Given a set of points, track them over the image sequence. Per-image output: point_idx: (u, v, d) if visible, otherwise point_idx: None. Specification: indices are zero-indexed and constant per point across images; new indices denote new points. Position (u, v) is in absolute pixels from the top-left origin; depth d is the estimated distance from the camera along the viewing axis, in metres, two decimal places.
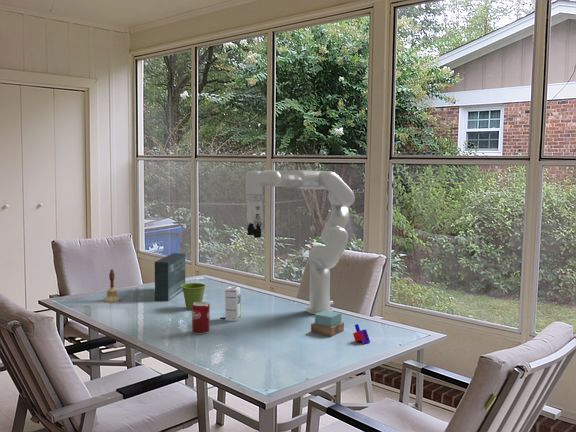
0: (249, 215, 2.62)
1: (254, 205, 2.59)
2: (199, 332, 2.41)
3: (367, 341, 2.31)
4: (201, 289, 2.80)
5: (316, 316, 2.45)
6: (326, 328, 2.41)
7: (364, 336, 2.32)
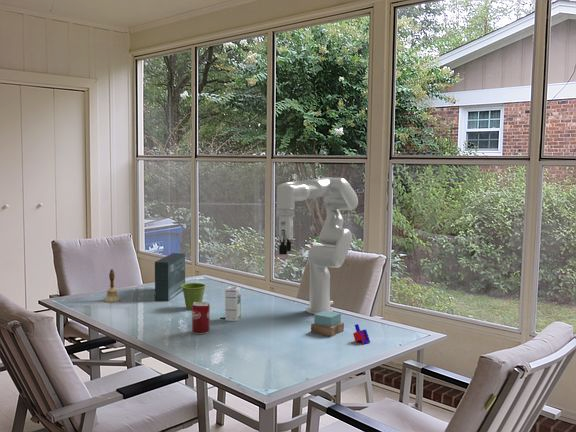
0: None
1: (280, 220, 2.49)
2: (199, 332, 2.41)
3: (367, 341, 2.31)
4: (201, 289, 2.80)
5: (316, 316, 2.45)
6: (326, 328, 2.41)
7: (364, 336, 2.32)
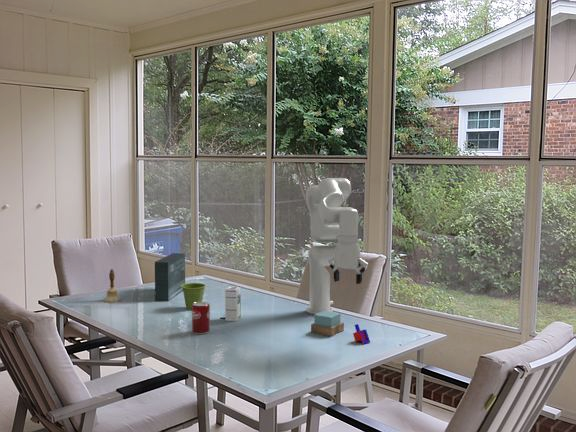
0: None
1: None
2: (199, 332, 2.41)
3: (367, 341, 2.31)
4: (201, 289, 2.80)
5: (316, 316, 2.44)
6: (326, 328, 2.41)
7: (364, 336, 2.32)
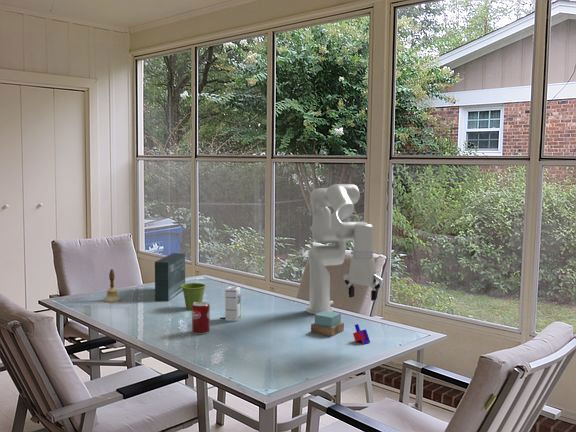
0: None
1: None
2: (199, 332, 2.41)
3: (367, 341, 2.31)
4: (201, 289, 2.80)
5: (316, 316, 2.45)
6: (326, 328, 2.41)
7: (364, 336, 2.32)
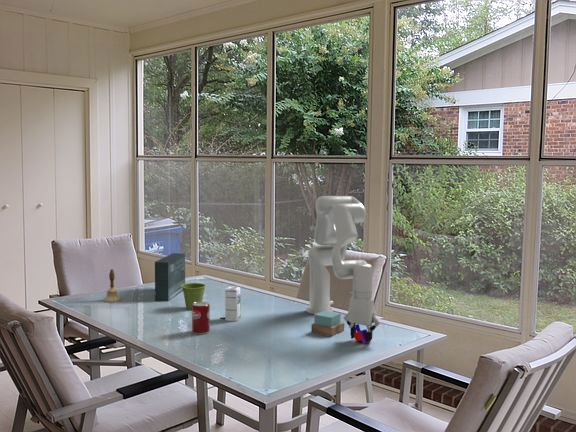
0: None
1: None
2: (199, 332, 2.41)
3: None
4: (201, 289, 2.80)
5: (316, 316, 2.45)
6: (326, 328, 2.41)
7: (364, 336, 2.32)
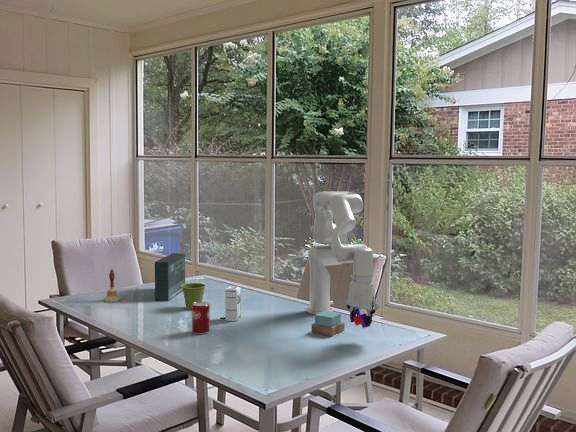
0: None
1: None
2: (199, 332, 2.41)
3: None
4: (201, 289, 2.80)
5: (316, 317, 2.44)
6: (327, 328, 2.41)
7: (364, 320, 2.33)
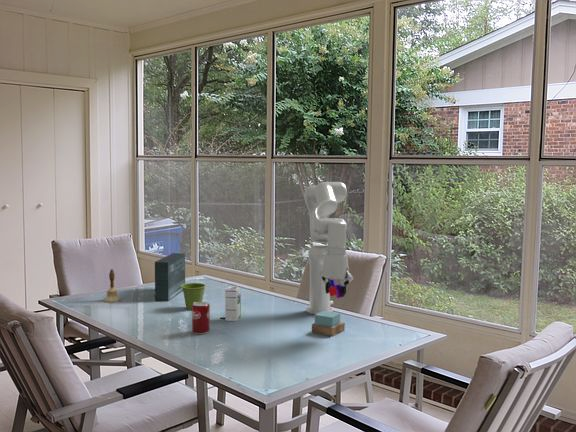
0: None
1: None
2: (199, 332, 2.41)
3: None
4: (201, 289, 2.80)
5: (316, 317, 2.44)
6: (327, 328, 2.41)
7: (339, 291, 2.42)
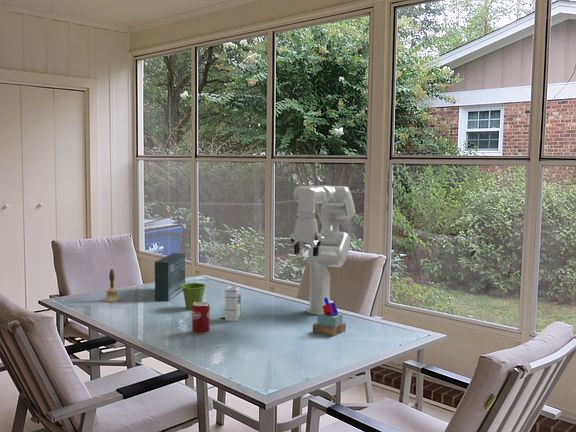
0: None
1: None
2: (199, 332, 2.41)
3: (335, 313, 2.45)
4: (201, 289, 2.80)
5: (319, 317, 2.44)
6: (327, 328, 2.42)
7: (333, 309, 2.46)
